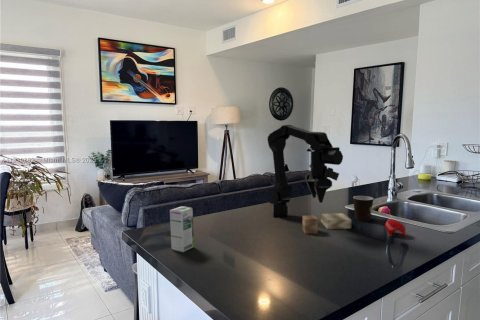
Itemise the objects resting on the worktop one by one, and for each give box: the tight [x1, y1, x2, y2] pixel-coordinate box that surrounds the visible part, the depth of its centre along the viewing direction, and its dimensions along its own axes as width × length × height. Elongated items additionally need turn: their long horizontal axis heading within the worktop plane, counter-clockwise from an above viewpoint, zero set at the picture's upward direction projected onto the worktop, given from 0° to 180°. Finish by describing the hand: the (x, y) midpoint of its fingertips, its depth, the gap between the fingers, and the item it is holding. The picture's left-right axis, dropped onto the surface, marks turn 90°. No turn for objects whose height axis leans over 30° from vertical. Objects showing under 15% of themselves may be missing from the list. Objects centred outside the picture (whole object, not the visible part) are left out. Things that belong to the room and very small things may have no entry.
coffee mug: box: [352, 195, 375, 223], centre depth 148 cm, size 12×9×10 cm
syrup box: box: [169, 205, 195, 253], centre depth 115 cm, size 6×6×14 cm
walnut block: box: [302, 215, 319, 235], centre depth 132 cm, size 5×5×6 cm
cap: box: [384, 219, 407, 238], centre depth 127 cm, size 8×6×6 cm
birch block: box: [320, 213, 352, 230], centre depth 140 cm, size 10×10×4 cm
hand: (317, 200), depth 136 cm, fingers open, 9 cm apart
